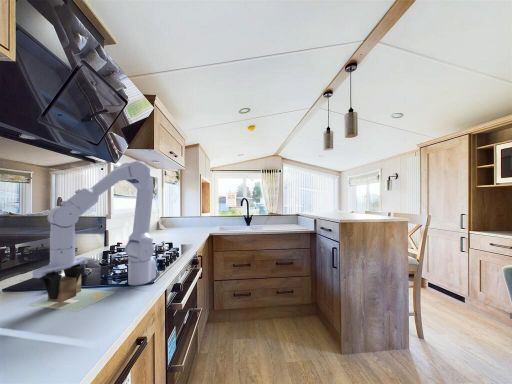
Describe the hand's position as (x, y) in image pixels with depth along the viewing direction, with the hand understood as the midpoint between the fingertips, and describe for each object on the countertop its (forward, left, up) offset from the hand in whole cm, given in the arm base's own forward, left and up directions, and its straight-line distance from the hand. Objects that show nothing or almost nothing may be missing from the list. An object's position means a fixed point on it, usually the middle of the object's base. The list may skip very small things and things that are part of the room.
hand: (62, 295), depth 71 cm
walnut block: (0, 0, -1) cm, 1 cm away
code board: (-4, 0, -3) cm, 5 cm away
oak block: (-6, -6, -2) cm, 9 cm away
